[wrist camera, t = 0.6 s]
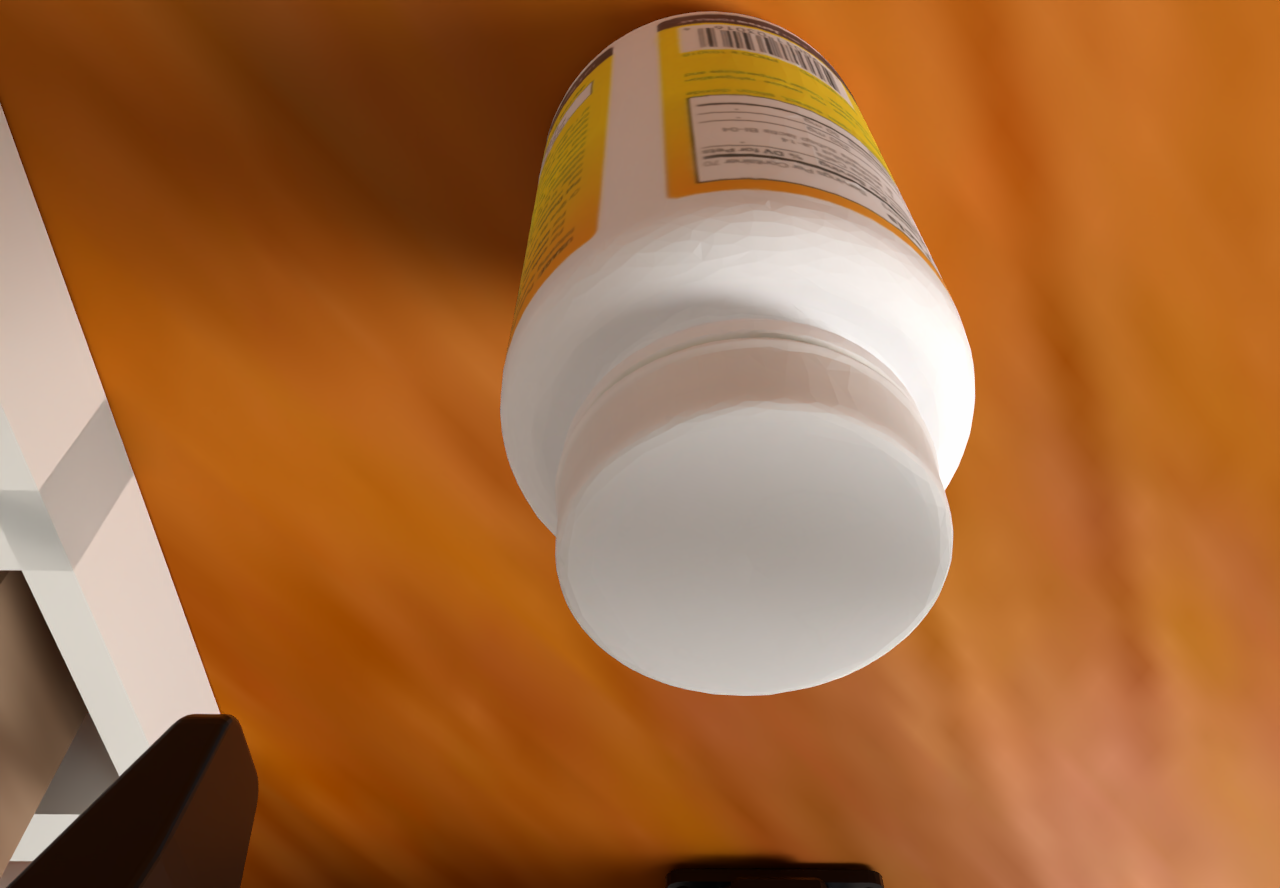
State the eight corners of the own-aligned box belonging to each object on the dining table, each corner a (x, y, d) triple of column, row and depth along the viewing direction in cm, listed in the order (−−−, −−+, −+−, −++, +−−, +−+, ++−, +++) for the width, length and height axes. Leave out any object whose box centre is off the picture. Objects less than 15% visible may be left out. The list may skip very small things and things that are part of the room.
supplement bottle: (613, 339, 21) (592, 789, 13) (494, 70, 18) (362, 435, 9) (894, 251, 20) (1073, 684, 11) (820, -54, 16) (994, 240, 8)
